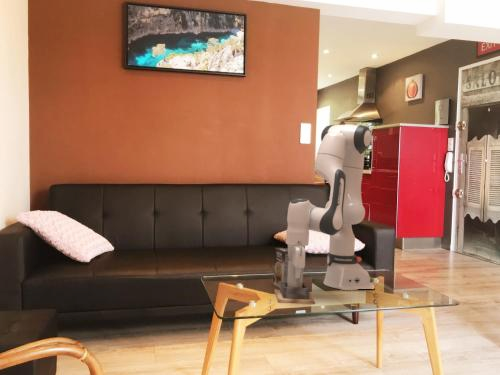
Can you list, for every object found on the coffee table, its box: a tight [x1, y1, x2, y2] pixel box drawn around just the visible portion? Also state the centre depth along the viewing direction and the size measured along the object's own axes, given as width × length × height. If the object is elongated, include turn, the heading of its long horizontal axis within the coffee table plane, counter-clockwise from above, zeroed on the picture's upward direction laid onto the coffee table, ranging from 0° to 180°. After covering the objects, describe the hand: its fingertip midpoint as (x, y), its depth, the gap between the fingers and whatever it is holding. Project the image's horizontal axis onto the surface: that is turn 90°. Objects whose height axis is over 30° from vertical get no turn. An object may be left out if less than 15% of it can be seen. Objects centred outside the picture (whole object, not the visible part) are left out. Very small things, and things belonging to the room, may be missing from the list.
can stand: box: [274, 281, 316, 305], centre depth 170 cm, size 14×14×5 cm
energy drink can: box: [287, 257, 304, 288], centre depth 169 cm, size 6×6×15 cm
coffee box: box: [272, 247, 289, 289], centre depth 185 cm, size 9×6×16 cm
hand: (295, 274), depth 169 cm, fingers open, 8 cm apart
